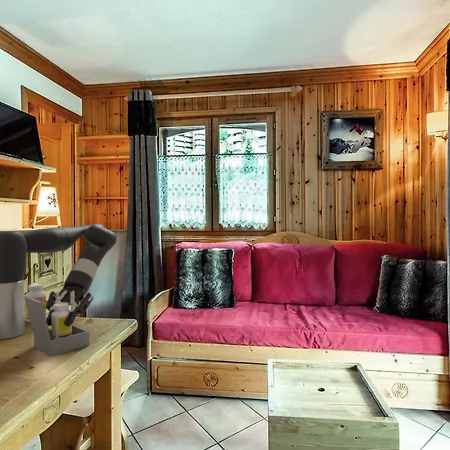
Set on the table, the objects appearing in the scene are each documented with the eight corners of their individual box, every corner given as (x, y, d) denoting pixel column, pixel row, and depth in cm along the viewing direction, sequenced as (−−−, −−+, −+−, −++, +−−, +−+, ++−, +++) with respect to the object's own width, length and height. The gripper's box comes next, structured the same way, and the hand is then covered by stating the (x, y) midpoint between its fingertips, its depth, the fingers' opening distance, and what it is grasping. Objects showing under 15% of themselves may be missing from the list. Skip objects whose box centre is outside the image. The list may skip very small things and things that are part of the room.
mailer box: (25, 348, 100) (24, 296, 100) (72, 336, 110) (71, 288, 110) (41, 359, 93) (39, 302, 92) (89, 344, 103) (88, 293, 103)
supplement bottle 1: (35, 323, 124) (34, 287, 124) (21, 322, 126) (20, 286, 126) (50, 318, 130) (49, 284, 130) (36, 316, 132) (36, 283, 132)
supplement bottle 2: (75, 334, 105) (75, 301, 105) (65, 340, 100) (64, 306, 99) (58, 333, 106) (57, 301, 105) (47, 340, 100) (46, 306, 100)
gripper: (106, 283, 113) (85, 332, 102) (67, 282, 116) (42, 329, 105) (97, 269, 108) (73, 320, 96) (56, 268, 111) (28, 317, 99)
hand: (57, 324), depth 101 cm, fingers closed on supplement bottle 2, 5 cm apart
